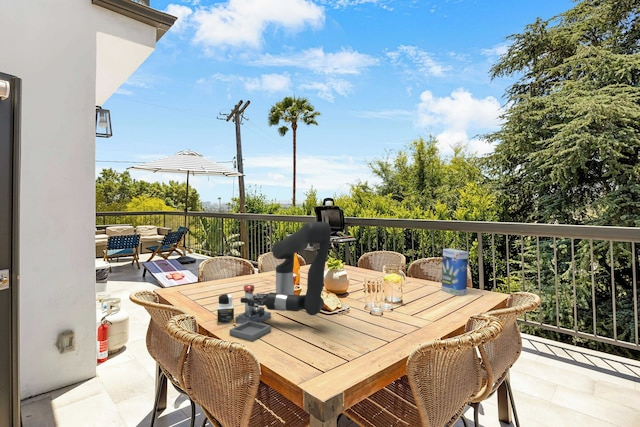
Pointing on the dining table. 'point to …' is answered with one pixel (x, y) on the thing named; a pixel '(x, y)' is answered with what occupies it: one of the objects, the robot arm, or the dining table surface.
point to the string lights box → (454, 271)
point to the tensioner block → (254, 316)
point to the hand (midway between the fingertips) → (243, 298)
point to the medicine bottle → (225, 309)
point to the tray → (250, 330)
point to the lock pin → (248, 294)
